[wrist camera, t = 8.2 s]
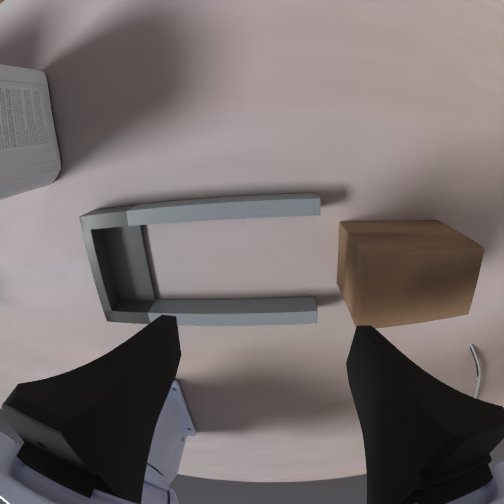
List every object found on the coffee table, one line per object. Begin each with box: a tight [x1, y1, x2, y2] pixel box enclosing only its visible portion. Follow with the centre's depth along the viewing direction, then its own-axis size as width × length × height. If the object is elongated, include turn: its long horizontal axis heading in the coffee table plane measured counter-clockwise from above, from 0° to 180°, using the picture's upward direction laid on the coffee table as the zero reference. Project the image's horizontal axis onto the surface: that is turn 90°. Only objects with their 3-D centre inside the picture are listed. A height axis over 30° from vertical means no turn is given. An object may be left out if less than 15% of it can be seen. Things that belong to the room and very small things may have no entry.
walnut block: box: [337, 220, 484, 328], centre depth 17 cm, size 4×8×6 cm, turn 94°
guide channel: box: [80, 193, 321, 326], centre depth 19 cm, size 8×16×2 cm, turn 93°
